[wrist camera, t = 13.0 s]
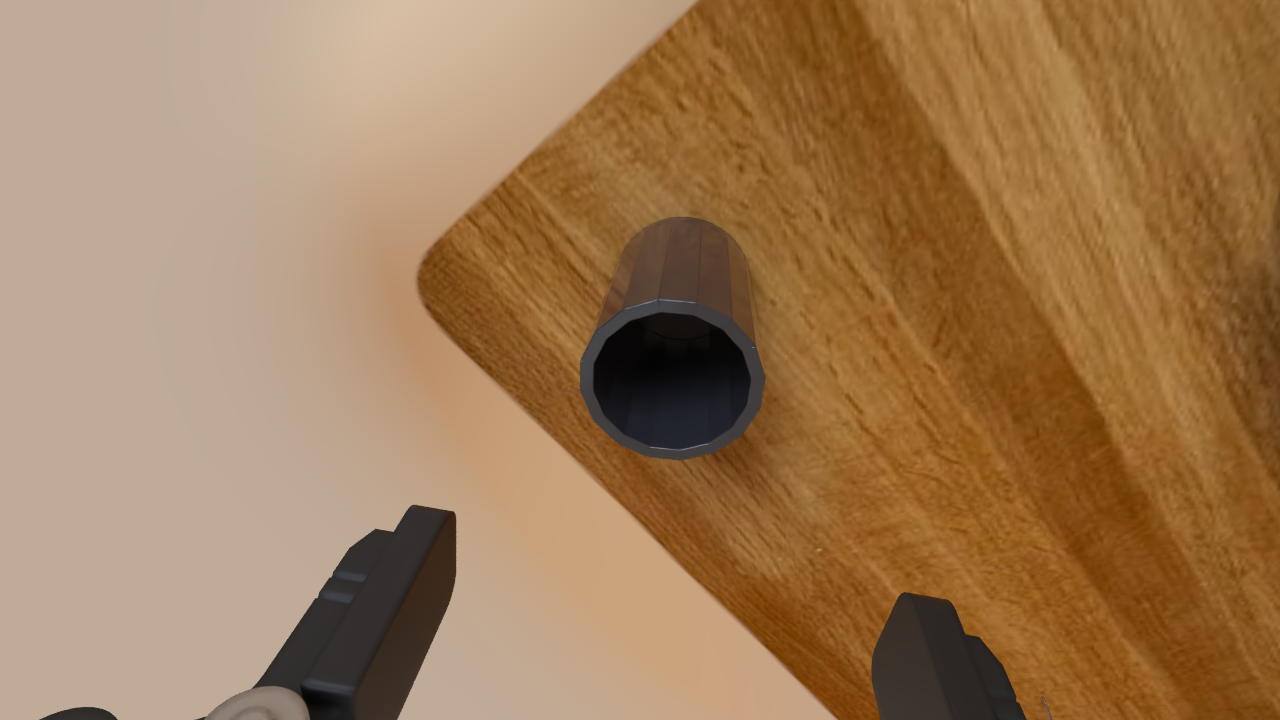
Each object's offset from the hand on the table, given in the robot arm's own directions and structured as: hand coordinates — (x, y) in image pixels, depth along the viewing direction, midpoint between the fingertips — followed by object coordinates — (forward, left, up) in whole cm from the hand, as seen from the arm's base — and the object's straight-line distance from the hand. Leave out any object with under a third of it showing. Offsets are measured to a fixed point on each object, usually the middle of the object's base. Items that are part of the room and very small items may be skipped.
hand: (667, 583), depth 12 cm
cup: (0, 0, -16) cm, 16 cm away
